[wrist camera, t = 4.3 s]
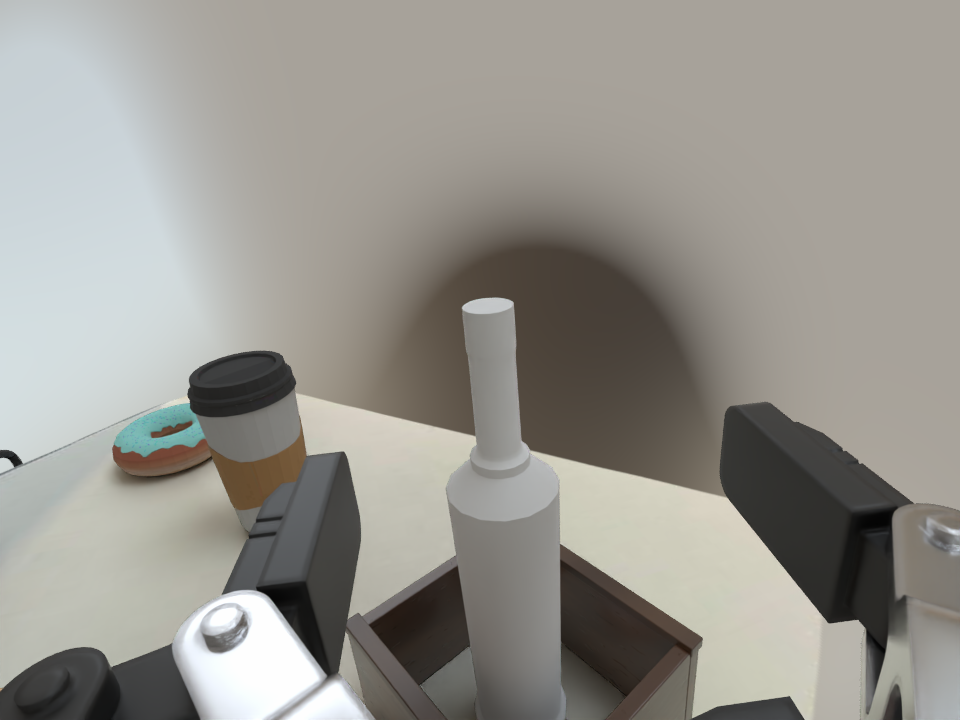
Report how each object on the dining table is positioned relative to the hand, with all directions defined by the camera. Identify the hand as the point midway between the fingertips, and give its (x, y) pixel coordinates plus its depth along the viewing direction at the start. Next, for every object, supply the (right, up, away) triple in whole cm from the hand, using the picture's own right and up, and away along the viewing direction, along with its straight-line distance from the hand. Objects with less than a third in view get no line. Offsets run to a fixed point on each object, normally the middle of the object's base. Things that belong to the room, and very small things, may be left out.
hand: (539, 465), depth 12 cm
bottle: (+1, -19, +20) cm, 27 cm away
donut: (-36, -9, +52) cm, 63 cm away
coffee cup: (-20, -12, +39) cm, 46 cm away
